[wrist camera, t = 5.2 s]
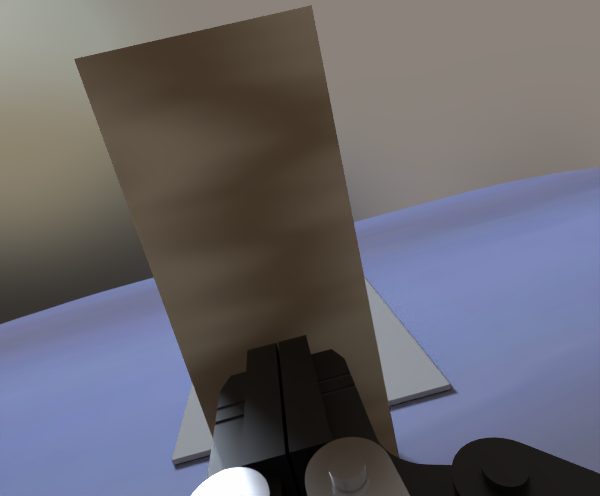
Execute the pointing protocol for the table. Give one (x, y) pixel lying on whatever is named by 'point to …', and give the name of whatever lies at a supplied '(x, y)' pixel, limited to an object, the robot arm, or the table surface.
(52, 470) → the table surface
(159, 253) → the birch block
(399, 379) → the grey mat
